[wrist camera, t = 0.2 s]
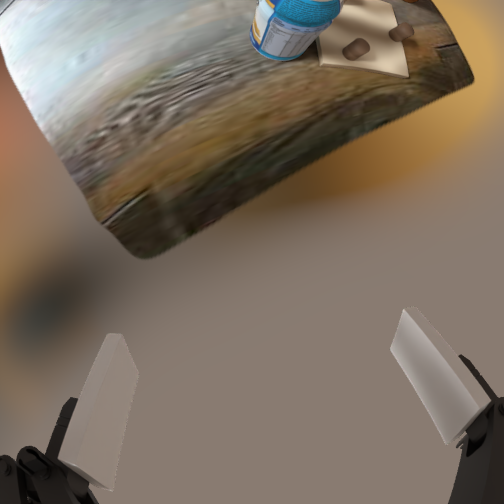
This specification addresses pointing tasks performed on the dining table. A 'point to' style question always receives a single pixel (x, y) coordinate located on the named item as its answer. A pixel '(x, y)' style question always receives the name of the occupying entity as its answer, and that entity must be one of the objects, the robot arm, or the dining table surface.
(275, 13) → the beverage bottle
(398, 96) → the dining table surface
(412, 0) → the disposable coffee cup
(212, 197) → the dining table surface
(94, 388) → the robot arm
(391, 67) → the peg board
